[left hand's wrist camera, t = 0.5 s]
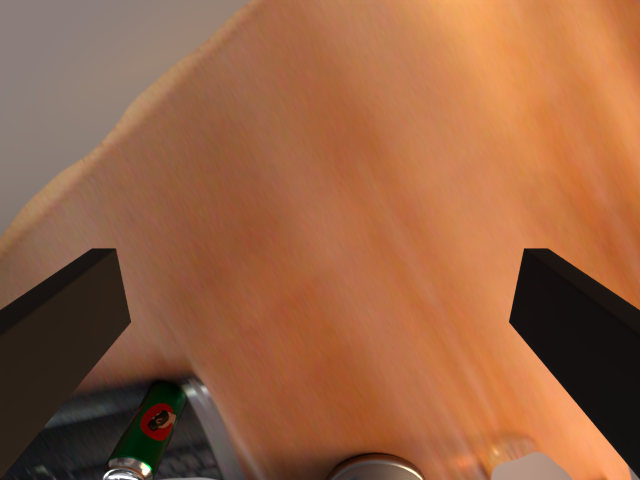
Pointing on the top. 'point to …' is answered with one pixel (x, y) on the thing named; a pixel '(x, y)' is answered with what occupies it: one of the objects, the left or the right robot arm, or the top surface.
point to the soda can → (147, 435)
